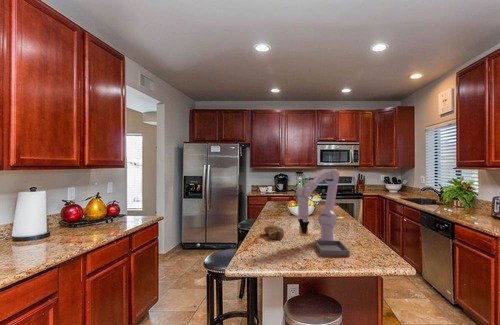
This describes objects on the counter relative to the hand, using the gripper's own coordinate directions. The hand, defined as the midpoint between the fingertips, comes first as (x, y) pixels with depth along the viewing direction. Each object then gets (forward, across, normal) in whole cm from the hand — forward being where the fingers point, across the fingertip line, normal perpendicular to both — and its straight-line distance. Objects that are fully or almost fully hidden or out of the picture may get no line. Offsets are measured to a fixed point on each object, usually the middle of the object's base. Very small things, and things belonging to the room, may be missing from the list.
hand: (303, 232), depth 165 cm
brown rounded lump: (+9, -24, -16) cm, 31 cm away
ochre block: (+2, 0, 0) cm, 2 cm away
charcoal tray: (+8, +7, +14) cm, 18 cm away
